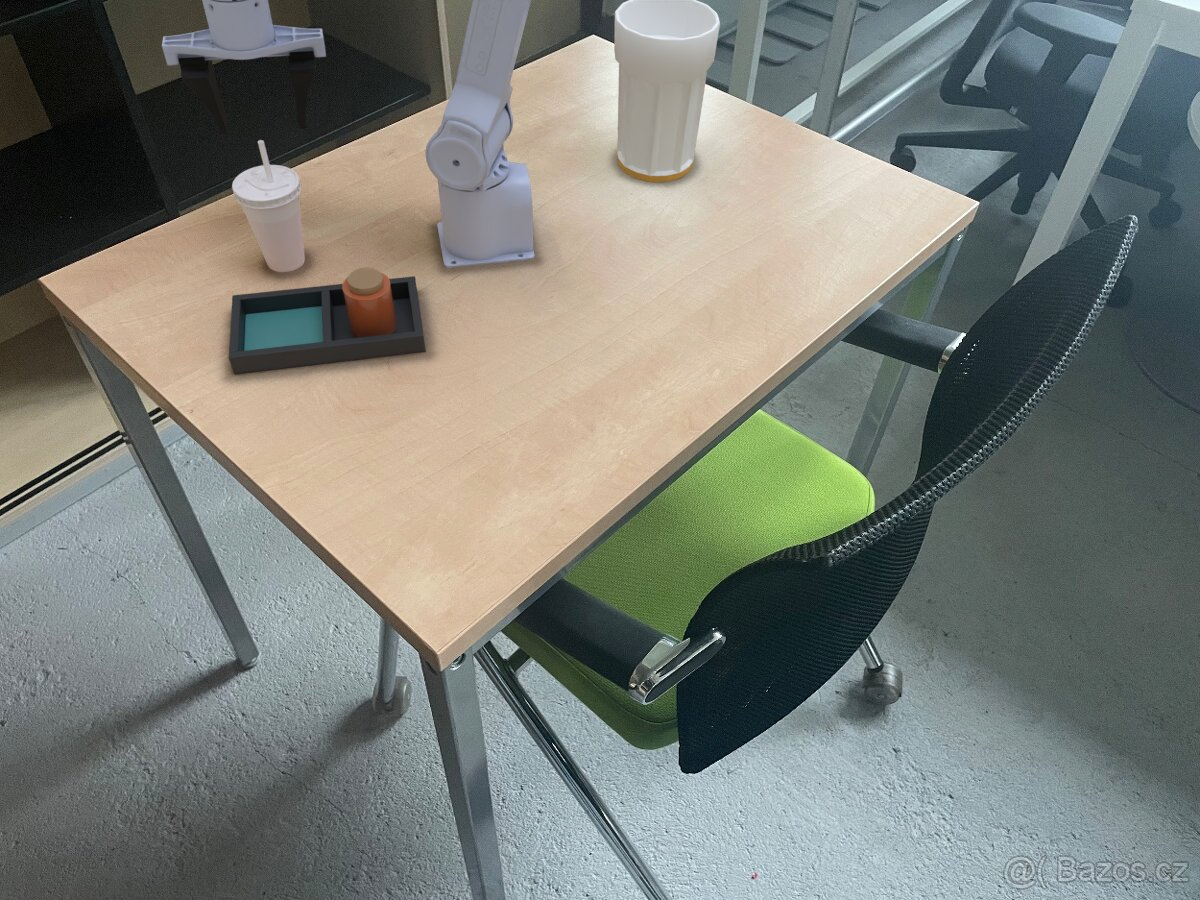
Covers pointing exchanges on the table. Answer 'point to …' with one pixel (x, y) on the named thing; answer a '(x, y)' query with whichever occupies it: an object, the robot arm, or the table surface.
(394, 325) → the spice pot
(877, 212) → the table surface
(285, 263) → the smoothie
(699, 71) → the cup
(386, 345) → the holder
